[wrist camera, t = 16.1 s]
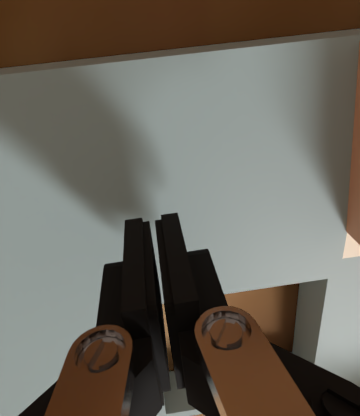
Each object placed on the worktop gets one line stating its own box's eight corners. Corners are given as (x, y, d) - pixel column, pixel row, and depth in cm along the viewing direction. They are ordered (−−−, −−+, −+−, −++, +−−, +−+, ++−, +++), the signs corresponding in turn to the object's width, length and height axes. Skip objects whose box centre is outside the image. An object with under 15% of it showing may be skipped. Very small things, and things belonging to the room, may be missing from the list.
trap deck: (-117, 422, 20) (-148, 472, 18) (-404, 112, 11) (-538, 135, 9) (406, 338, 21) (437, 374, 19) (519, 10, 13) (599, 7, 10)
